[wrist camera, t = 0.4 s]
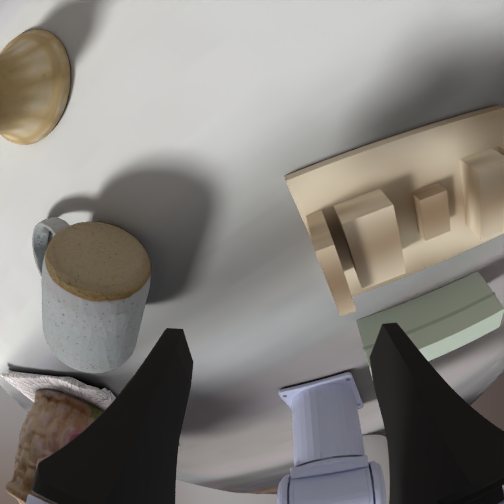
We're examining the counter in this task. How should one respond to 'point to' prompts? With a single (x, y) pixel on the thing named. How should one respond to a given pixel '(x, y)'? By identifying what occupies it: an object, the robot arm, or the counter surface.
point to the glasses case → (440, 318)
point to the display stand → (404, 202)
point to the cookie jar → (50, 421)
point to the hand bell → (32, 86)
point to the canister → (378, 456)
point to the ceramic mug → (91, 292)
